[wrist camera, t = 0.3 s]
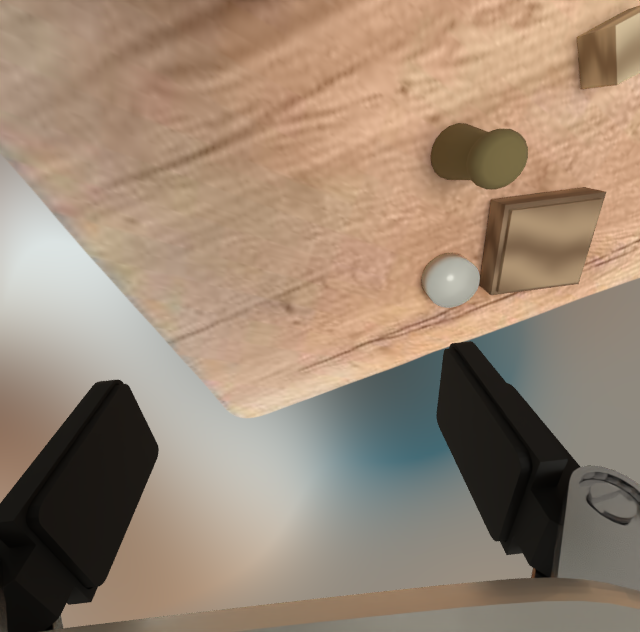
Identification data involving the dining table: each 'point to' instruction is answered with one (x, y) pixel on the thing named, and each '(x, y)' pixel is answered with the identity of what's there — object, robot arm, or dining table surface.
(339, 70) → the dining table surface
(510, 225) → the walnut stand
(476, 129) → the pepper shaker
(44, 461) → the robot arm
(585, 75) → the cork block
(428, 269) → the pale grey dome
